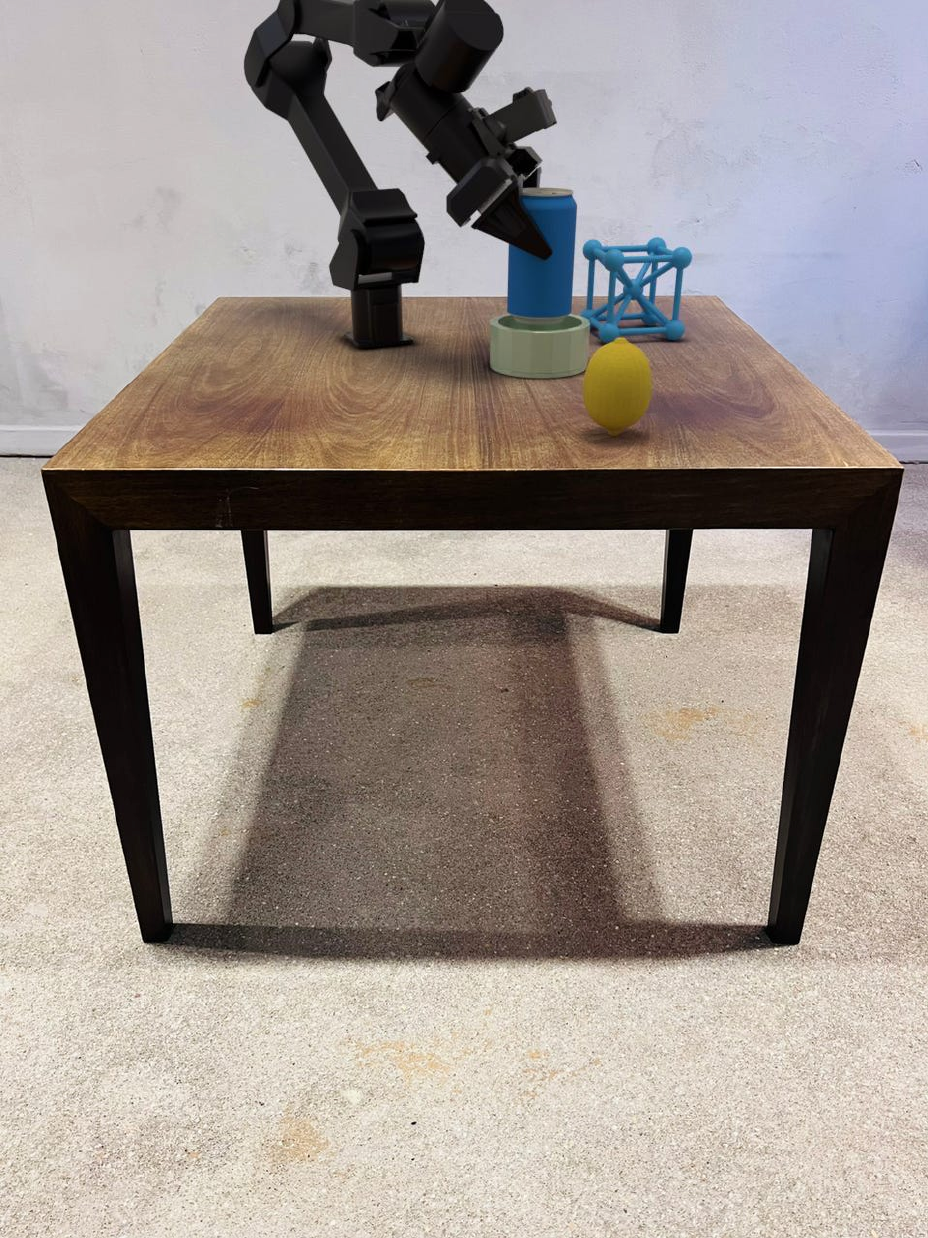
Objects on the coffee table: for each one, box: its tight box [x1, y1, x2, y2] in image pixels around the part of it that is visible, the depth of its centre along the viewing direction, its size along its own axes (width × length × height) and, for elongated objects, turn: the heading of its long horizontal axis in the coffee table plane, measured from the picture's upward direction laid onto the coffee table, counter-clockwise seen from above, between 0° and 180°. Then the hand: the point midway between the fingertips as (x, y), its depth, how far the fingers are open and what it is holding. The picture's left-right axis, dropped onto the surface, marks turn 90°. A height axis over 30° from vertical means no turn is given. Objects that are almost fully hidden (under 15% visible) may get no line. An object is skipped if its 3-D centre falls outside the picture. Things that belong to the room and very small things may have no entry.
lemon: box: [582, 336, 653, 436], centre depth 79 cm, size 6×6×8 cm
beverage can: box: [506, 187, 578, 325], centre depth 96 cm, size 6×6×12 cm
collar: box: [489, 313, 591, 380], centre depth 100 cm, size 10×10×4 cm
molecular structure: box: [579, 236, 693, 345], centre depth 111 cm, size 10×10×10 cm
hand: (555, 251), depth 96 cm, fingers closed on beverage can, 6 cm apart
